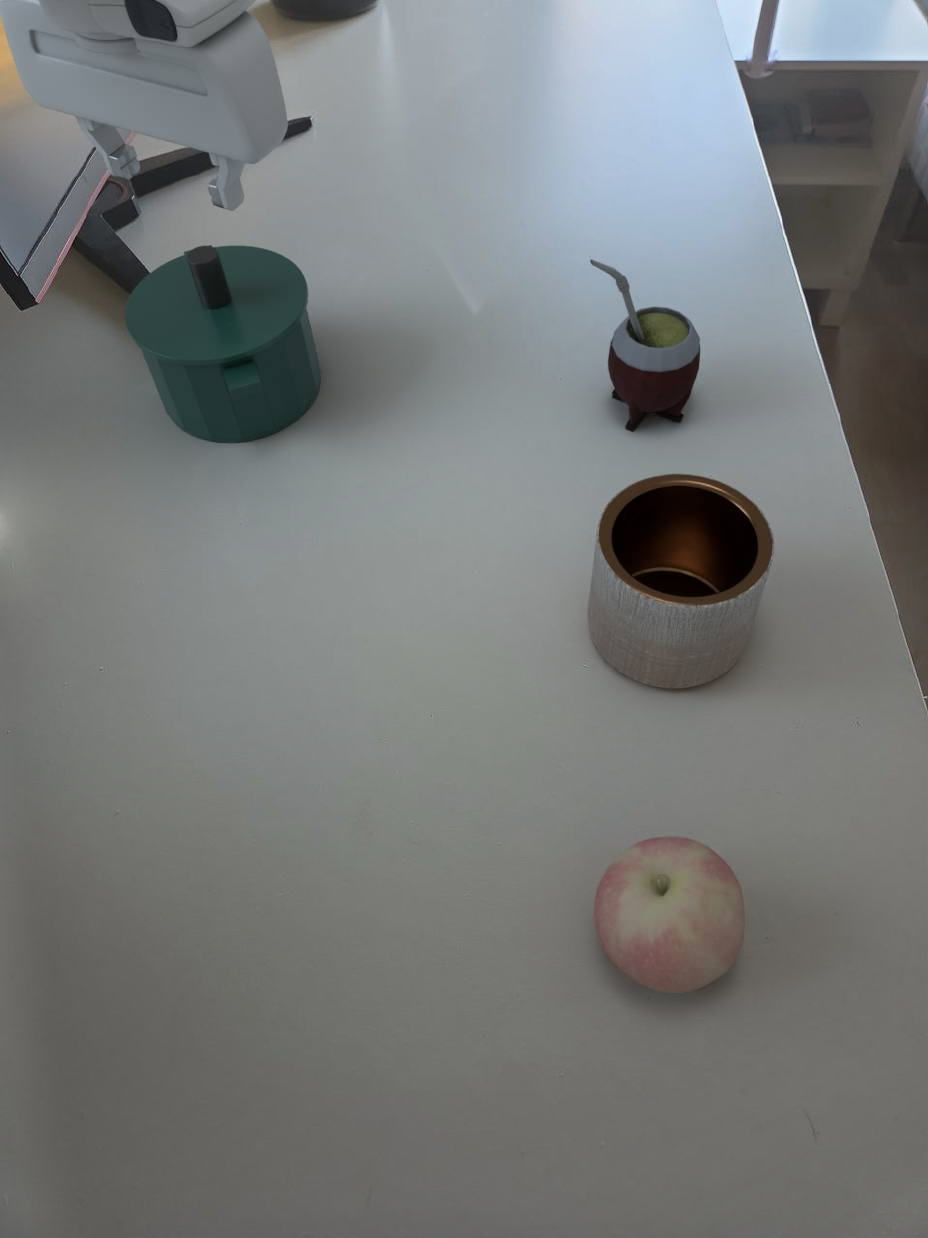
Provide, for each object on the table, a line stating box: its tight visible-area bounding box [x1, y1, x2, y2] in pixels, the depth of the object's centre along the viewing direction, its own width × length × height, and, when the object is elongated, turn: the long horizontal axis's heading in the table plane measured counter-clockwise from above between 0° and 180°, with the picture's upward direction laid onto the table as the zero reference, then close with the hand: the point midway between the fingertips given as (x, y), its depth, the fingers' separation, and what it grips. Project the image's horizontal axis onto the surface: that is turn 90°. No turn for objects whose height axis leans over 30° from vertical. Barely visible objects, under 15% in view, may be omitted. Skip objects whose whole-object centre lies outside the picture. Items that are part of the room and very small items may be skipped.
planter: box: [587, 473, 775, 690], centre depth 62 cm, size 11×11×10 cm
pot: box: [140, 244, 322, 444], centre depth 79 cm, size 13×19×8 cm
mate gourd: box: [589, 259, 701, 432], centre depth 73 cm, size 8×8×15 cm
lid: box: [124, 245, 309, 365], centre depth 74 cm, size 14×14×5 cm
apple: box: [593, 836, 746, 994], centre depth 51 cm, size 8×8×8 cm
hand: (177, 188), depth 68 cm, fingers open, 8 cm apart
